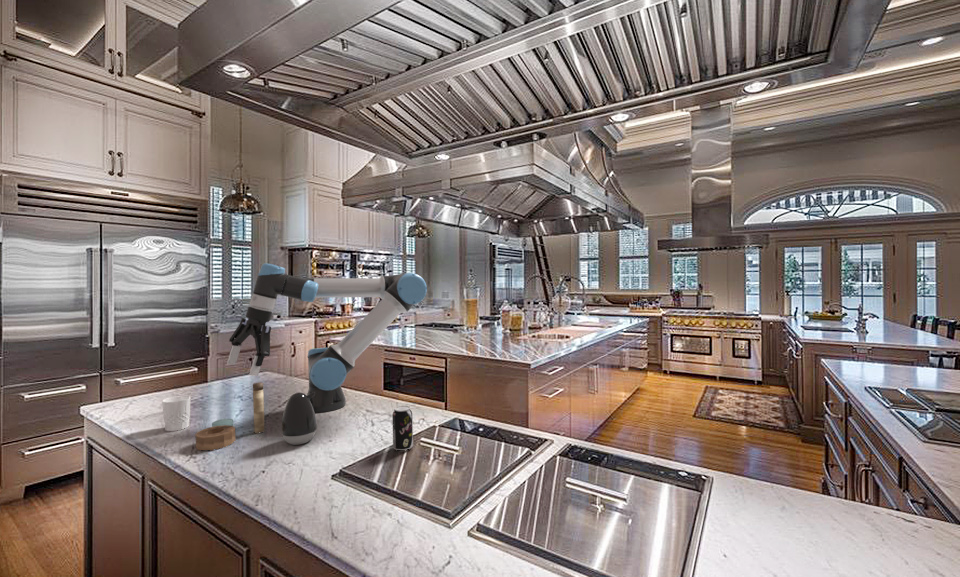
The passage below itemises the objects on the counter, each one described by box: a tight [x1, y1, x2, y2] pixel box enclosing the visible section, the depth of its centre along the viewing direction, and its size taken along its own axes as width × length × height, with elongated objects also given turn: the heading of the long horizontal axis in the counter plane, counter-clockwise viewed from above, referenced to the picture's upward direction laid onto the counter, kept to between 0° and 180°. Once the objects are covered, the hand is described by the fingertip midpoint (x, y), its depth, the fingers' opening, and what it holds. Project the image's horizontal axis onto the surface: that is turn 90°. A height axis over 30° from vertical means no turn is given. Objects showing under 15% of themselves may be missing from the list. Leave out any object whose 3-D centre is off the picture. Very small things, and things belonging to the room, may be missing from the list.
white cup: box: [161, 395, 191, 432], centre depth 146 cm, size 8×8×10 cm
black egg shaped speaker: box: [280, 391, 318, 446], centre depth 131 cm, size 10×10×15 cm
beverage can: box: [391, 405, 414, 451], centre depth 125 cm, size 6×6×12 cm
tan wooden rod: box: [252, 382, 266, 434], centre depth 140 cm, size 3×3×16 cm
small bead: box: [211, 418, 234, 427], centre depth 141 cm, size 6×6×4 cm
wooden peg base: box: [194, 425, 236, 451], centre depth 131 cm, size 10×10×4 cm
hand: (241, 369), depth 144 cm, fingers open, 13 cm apart
